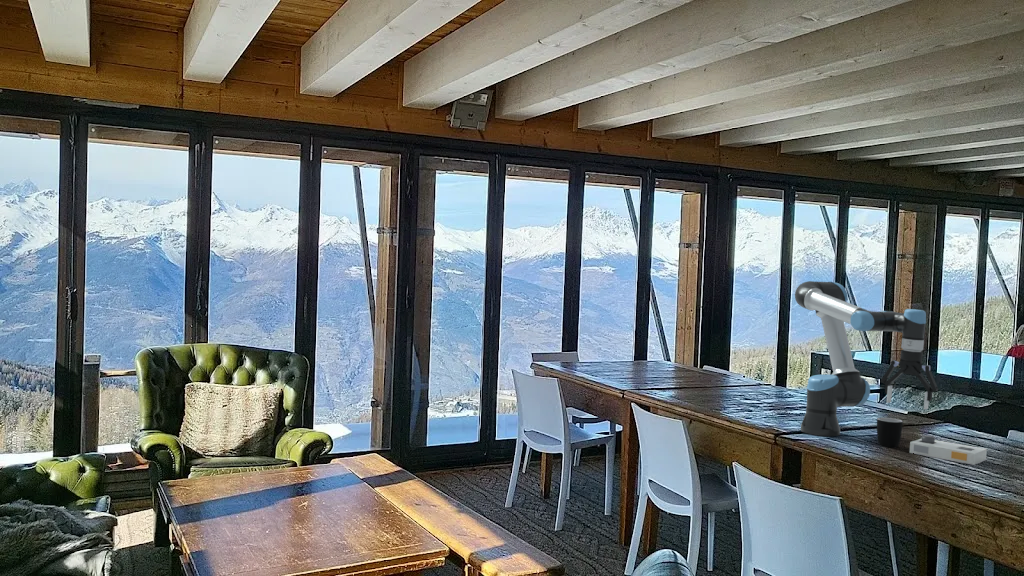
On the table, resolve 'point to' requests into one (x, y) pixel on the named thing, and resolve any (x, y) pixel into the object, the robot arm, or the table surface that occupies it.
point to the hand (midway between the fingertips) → (907, 405)
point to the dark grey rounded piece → (928, 439)
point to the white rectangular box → (949, 451)
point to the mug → (889, 432)
